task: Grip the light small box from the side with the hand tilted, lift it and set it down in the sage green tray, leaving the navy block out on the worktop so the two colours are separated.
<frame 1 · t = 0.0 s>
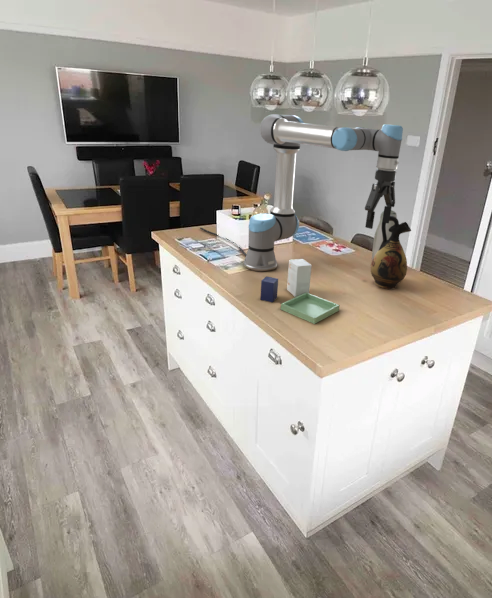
hand: (377, 225, 164), 28 cm above the counter, tool pointing down, fingers open, 13 cm apart
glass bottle: (380, 267, 204), on the counter
small box: (297, 293, 169), on the counter
ceramic jug: (383, 284, 184), on the counter
tray: (310, 310, 155), on the counter
navy block: (268, 298, 161), on the counter
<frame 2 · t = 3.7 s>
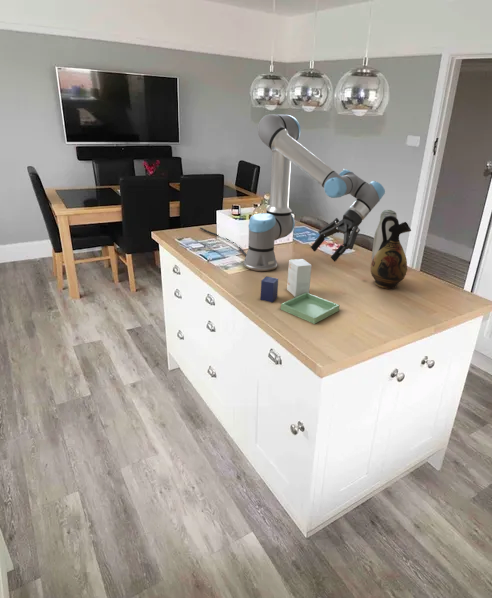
hand: (322, 254, 168), 15 cm above the counter, tool tilted 45°, fingers open, 13 cm apart
nothing on the counter moved.
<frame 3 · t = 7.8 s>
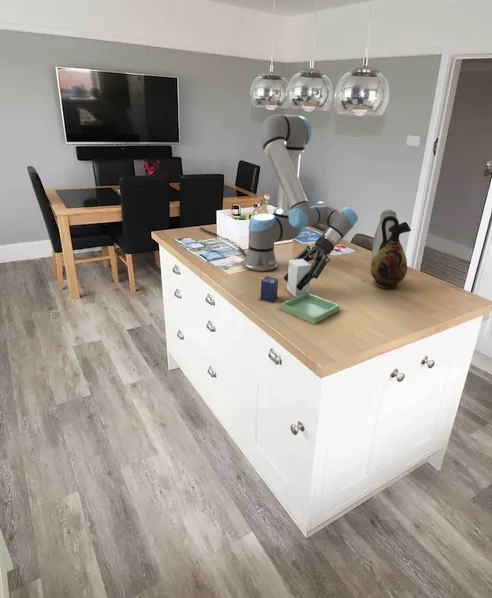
hand: (291, 284, 165), 4 cm above the counter, tool tilted 45°, fingers closed on small box, 9 cm apart
small box: (297, 293, 169), on the counter, touching gripper
everything else where it was.
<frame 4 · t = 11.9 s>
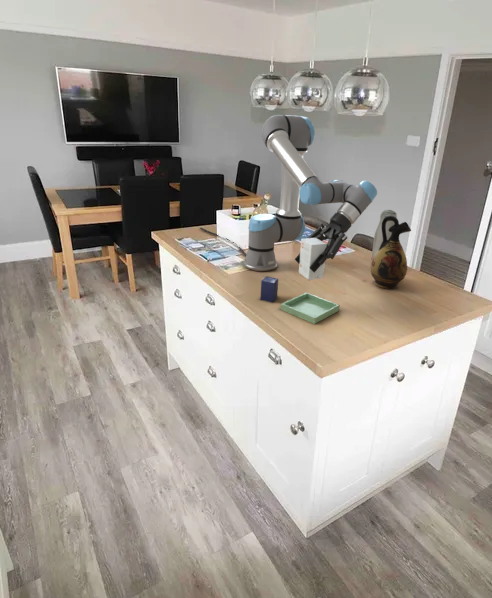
hand: (304, 265, 149), 17 cm above the counter, tool tilted 45°, fingers closed on small box, 9 cm apart
small box: (310, 276, 152), point 12 cm above the counter, touching gripper
everything else where it was.
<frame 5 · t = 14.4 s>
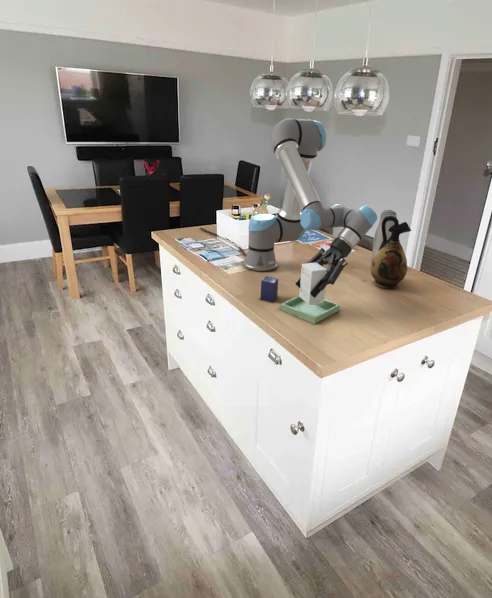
hand: (304, 290, 150), 8 cm above the counter, tool tilted 45°, fingers closed on small box, 9 cm apart
small box: (311, 300, 153), point 4 cm above the counter, touching gripper
everything else where it was.
when the fingers open (5 cm above the counter, at t = 16.0 s): small box stays where it is, resting on tray.
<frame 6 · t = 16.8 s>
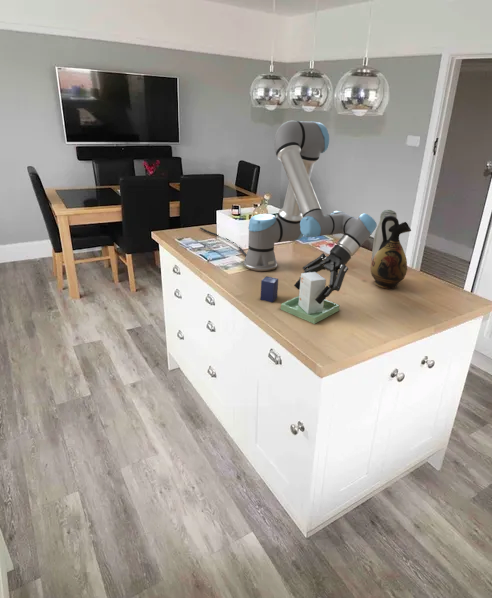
hand: (306, 294, 151), 7 cm above the counter, tool tilted 45°, fingers open, 13 cm apart
small box: (310, 309, 155), resting on tray
everything else where it was.
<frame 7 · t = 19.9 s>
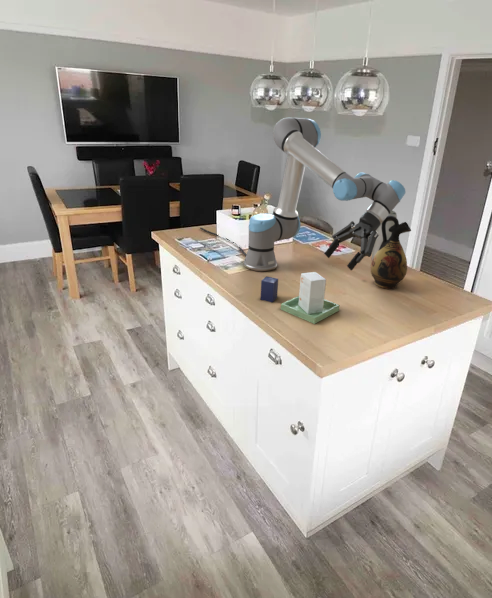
hand: (337, 261, 154), 17 cm above the counter, tool tilted 45°, fingers open, 13 cm apart
nothing on the counter moved.
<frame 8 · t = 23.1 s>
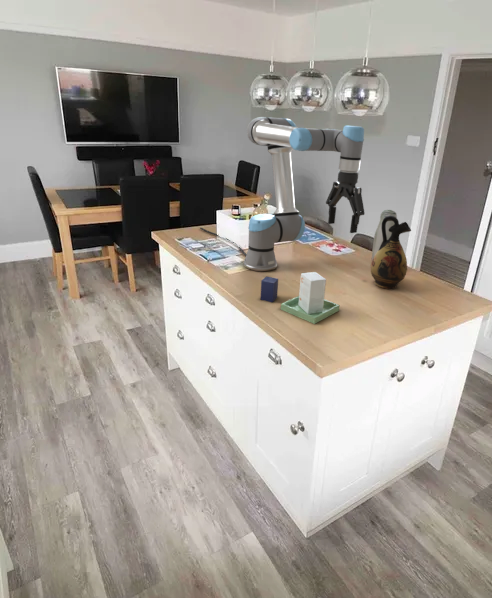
hand: (341, 227, 162), 27 cm above the counter, tool pointing down, fingers open, 13 cm apart
nothing on the counter moved.
at the end: small box inside the target area in the tray (0.1 cm from its centre), point 0.3 cm above the tray's base; small box tilted 0°; navy block moved 0.0 cm from its start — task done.
